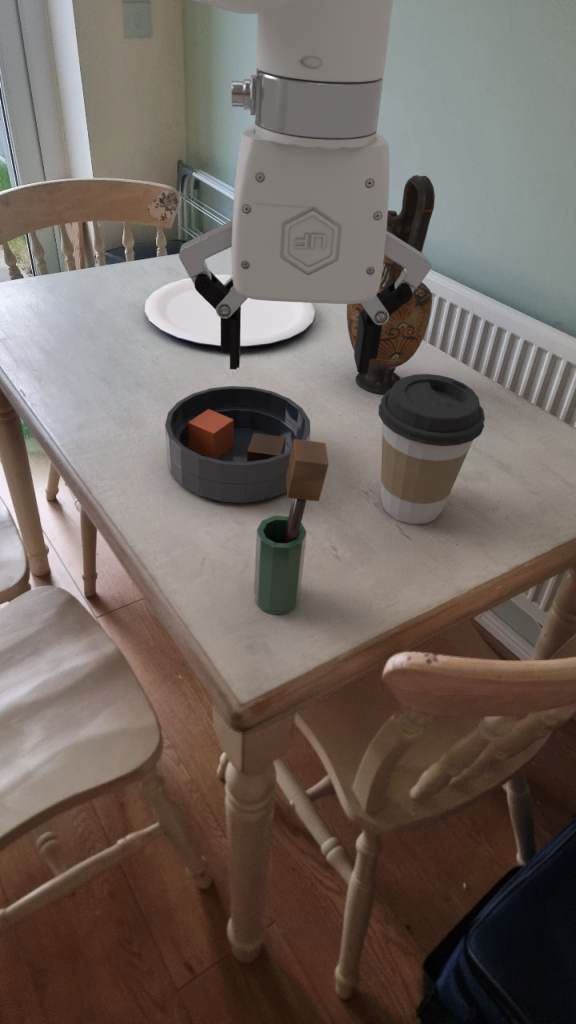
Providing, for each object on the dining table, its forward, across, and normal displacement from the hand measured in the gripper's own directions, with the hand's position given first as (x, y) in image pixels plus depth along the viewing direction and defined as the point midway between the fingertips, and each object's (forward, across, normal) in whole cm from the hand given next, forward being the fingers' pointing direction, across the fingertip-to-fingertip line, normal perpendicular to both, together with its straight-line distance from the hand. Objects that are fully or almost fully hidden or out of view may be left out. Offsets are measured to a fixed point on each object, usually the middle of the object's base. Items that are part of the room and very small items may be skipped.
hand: (298, 363), depth 53 cm
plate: (+26, -7, +66) cm, 72 cm away
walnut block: (+25, -1, +20) cm, 33 cm away
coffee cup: (+26, +16, +15) cm, 34 cm away
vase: (+26, +16, +44) cm, 54 cm away
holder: (+26, 0, 0) cm, 26 cm away
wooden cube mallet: (+25, 0, 0) cm, 25 cm away
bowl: (+26, -5, +23) cm, 35 cm away
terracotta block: (+25, -8, +25) cm, 37 cm away
